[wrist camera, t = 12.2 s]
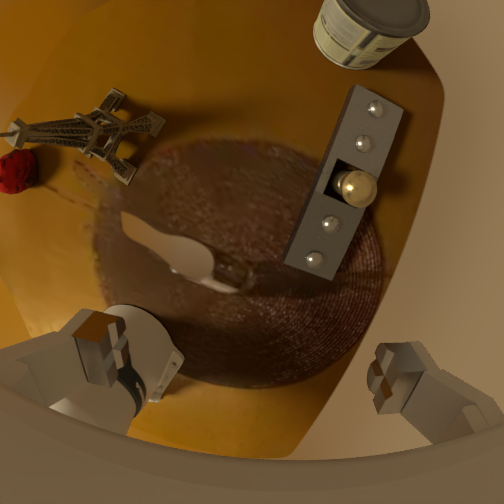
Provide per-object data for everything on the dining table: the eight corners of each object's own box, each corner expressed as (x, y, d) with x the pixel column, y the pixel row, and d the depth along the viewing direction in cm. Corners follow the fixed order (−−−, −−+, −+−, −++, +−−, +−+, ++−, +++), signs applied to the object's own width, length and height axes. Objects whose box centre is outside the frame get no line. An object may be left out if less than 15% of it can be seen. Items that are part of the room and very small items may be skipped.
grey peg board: (327, 271, 41) (332, 282, 38) (282, 255, 40) (283, 264, 37) (394, 112, 33) (405, 109, 30) (349, 88, 33) (357, 82, 29)
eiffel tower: (167, 120, 35) (39, 91, 12) (128, 184, 38) (-7, 233, 15) (112, 88, 33) (-21, 53, 10) (79, 149, 37) (-57, 169, 13)
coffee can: (345, -2, 28) (374, -52, 14) (396, 47, 30) (446, 14, 16) (296, 31, 30) (310, -21, 17) (351, 84, 32) (392, 53, 19)
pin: (341, 202, 38) (359, 215, 30) (320, 181, 37) (334, 188, 29) (361, 182, 37) (383, 190, 29) (341, 160, 36) (360, 163, 28)
